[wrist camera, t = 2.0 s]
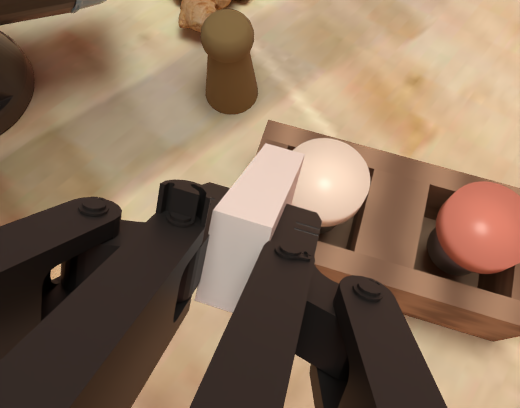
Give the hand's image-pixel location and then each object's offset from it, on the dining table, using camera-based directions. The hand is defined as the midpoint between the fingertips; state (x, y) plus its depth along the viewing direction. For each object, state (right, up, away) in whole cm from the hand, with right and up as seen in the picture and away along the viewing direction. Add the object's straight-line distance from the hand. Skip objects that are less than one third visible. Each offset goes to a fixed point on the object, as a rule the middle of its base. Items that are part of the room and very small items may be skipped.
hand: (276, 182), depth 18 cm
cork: (-4, +12, +37) cm, 39 cm away
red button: (+17, -5, +25) cm, 31 cm away
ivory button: (+5, -1, +26) cm, 27 cm away
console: (+11, -5, +30) cm, 32 cm away
